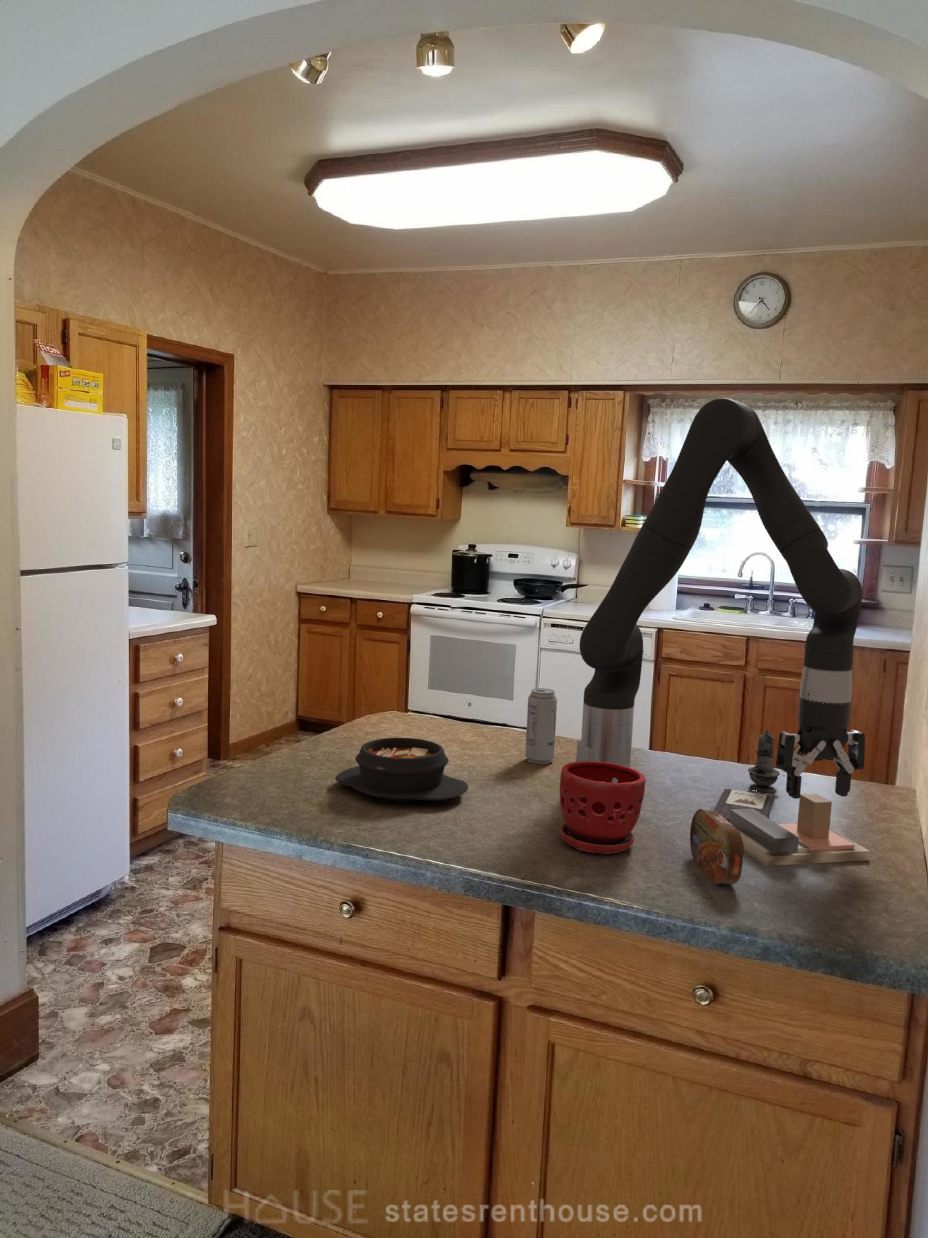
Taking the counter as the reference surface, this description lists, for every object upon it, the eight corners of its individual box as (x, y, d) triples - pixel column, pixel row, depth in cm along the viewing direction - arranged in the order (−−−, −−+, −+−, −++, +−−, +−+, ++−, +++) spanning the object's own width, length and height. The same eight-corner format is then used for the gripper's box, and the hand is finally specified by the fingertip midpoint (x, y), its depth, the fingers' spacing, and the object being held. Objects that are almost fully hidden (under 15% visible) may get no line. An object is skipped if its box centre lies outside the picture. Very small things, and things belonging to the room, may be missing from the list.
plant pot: (621, 867, 132) (627, 788, 130) (542, 846, 139) (546, 772, 137) (652, 841, 143) (657, 768, 141) (578, 823, 150) (582, 754, 148)
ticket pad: (766, 867, 134) (769, 838, 133) (723, 836, 146) (725, 809, 146) (870, 861, 138) (873, 833, 137) (819, 831, 150) (821, 805, 150)
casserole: (314, 795, 159) (315, 749, 158) (366, 769, 176) (368, 727, 175) (441, 819, 149) (443, 770, 148) (483, 789, 166) (485, 745, 165)
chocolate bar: (710, 816, 154) (725, 788, 171) (710, 821, 154) (724, 793, 171) (764, 825, 151) (774, 796, 167) (764, 831, 151) (773, 801, 167)
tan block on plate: (808, 851, 137) (812, 809, 136) (772, 828, 146) (775, 789, 146) (854, 848, 139) (858, 807, 138) (815, 826, 148) (818, 787, 147)
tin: (686, 853, 138) (690, 800, 137) (706, 853, 139) (710, 801, 138) (722, 895, 124) (727, 836, 123) (744, 895, 124) (749, 836, 123)
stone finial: (774, 785, 175) (779, 726, 174) (781, 795, 170) (787, 733, 168) (743, 783, 176) (748, 724, 174) (750, 793, 170) (755, 731, 169)
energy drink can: (555, 765, 183) (558, 694, 181) (525, 764, 183) (529, 693, 182) (552, 757, 189) (556, 688, 187) (524, 756, 189) (527, 687, 187)
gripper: (799, 702, 134) (791, 806, 136) (880, 700, 138) (872, 801, 140) (771, 692, 142) (764, 791, 144) (849, 690, 145) (841, 787, 147)
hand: (817, 796), depth 142 cm, fingers open, 8 cm apart
